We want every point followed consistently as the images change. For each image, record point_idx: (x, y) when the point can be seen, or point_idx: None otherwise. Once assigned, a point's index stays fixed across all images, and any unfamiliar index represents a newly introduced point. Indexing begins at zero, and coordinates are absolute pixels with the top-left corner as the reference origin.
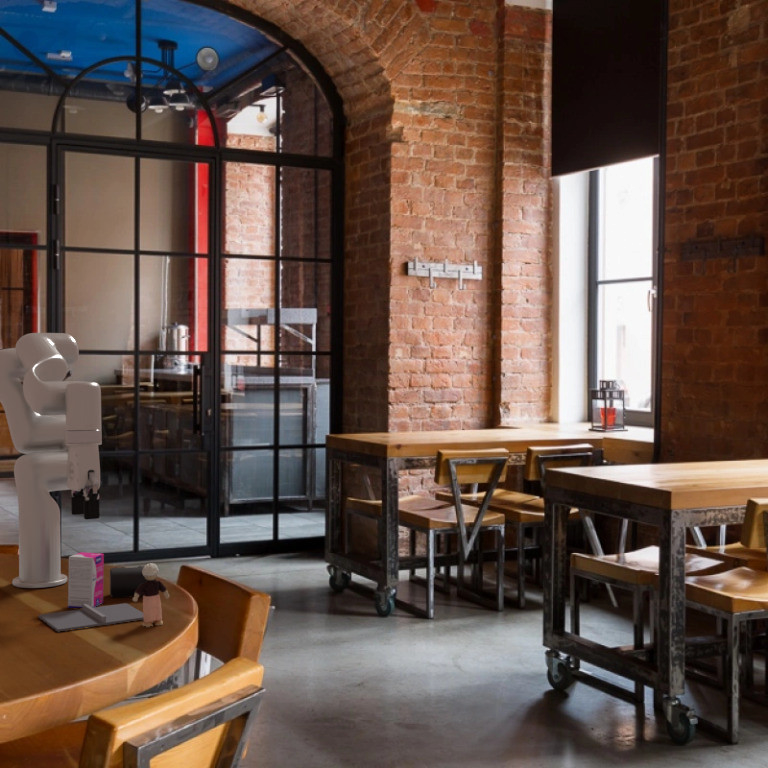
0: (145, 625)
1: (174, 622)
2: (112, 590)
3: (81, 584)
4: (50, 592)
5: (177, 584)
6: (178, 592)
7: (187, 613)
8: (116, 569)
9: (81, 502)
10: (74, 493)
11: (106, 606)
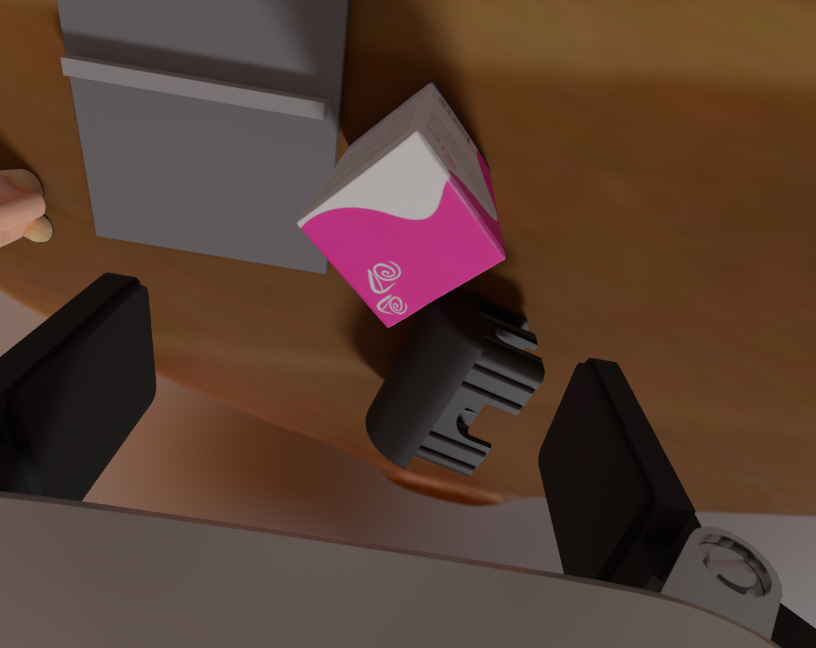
0: (2, 172)
1: (32, 268)
2: None
3: (366, 142)
4: (761, 167)
5: (488, 498)
6: None
7: None
8: (459, 361)
9: (579, 517)
10: (667, 578)
11: None
